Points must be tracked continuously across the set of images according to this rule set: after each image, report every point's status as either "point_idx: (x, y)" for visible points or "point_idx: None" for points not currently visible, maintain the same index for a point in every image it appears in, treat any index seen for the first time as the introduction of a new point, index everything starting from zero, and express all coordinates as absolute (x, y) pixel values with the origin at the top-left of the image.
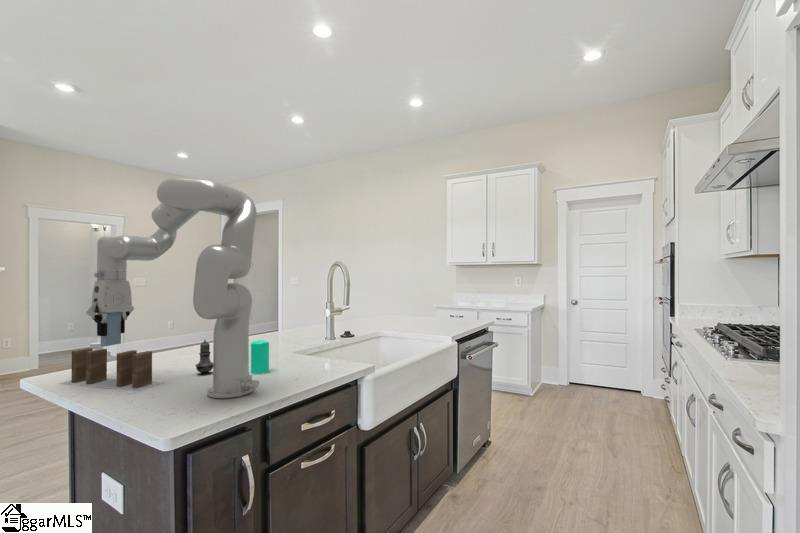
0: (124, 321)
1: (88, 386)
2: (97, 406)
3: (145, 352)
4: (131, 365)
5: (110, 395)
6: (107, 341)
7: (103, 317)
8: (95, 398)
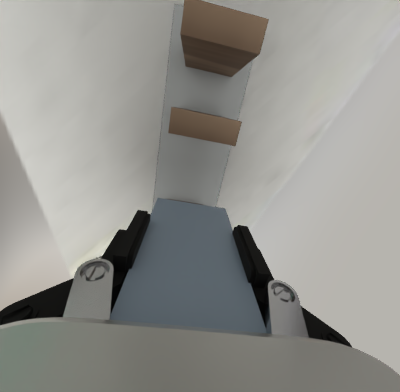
0: (118, 250)
1: (218, 195)
2: (364, 57)
3: (212, 17)
4: (195, 111)
5: (278, 97)
6: (218, 215)
7: (298, 321)
8: (298, 115)
